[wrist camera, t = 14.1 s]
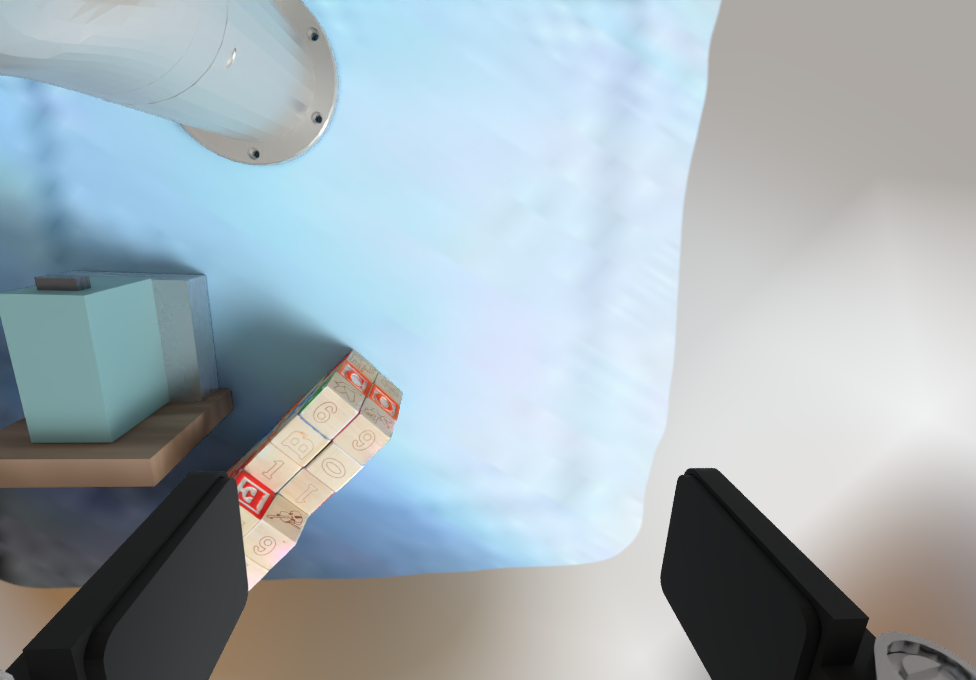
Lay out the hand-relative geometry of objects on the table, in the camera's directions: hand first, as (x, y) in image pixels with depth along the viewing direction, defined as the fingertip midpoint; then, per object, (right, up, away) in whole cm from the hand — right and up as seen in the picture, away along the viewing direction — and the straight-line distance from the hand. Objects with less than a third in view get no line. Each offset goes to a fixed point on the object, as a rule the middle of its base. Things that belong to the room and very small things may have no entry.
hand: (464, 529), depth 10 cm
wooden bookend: (-28, +4, +30) cm, 41 cm away
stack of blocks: (-17, -6, +34) cm, 39 cm away
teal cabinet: (-28, +4, +27) cm, 39 cm away
